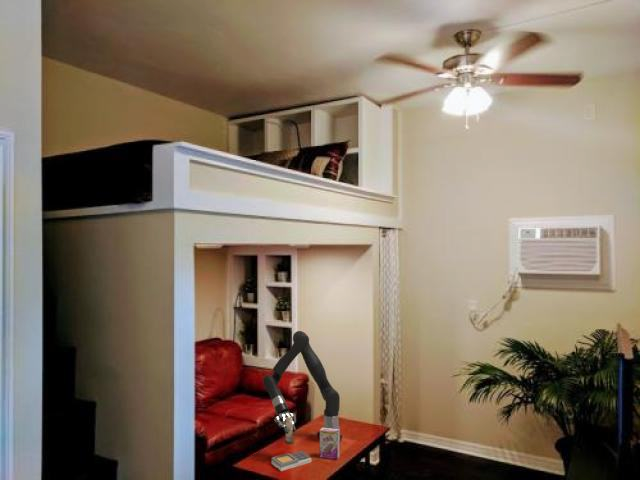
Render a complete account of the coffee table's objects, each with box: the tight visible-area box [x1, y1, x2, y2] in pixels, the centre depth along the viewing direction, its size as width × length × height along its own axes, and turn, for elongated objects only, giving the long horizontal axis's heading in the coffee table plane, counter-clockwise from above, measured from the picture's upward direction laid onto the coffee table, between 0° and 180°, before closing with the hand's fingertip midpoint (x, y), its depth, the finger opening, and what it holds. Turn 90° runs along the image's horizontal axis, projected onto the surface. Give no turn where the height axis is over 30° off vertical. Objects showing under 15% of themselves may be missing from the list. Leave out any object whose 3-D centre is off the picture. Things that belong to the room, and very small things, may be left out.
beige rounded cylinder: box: [283, 416, 295, 445], centre depth 284 cm, size 6×6×14 cm
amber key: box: [276, 456, 293, 463], centre depth 280 cm, size 7×7×1 cm
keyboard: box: [271, 450, 312, 472], centre depth 282 cm, size 20×11×4 cm, turn 124°
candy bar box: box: [319, 427, 340, 461], centre depth 289 cm, size 11×5×16 cm, turn 74°
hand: (291, 432), depth 282 cm, fingers closed on beige rounded cylinder, 4 cm apart
